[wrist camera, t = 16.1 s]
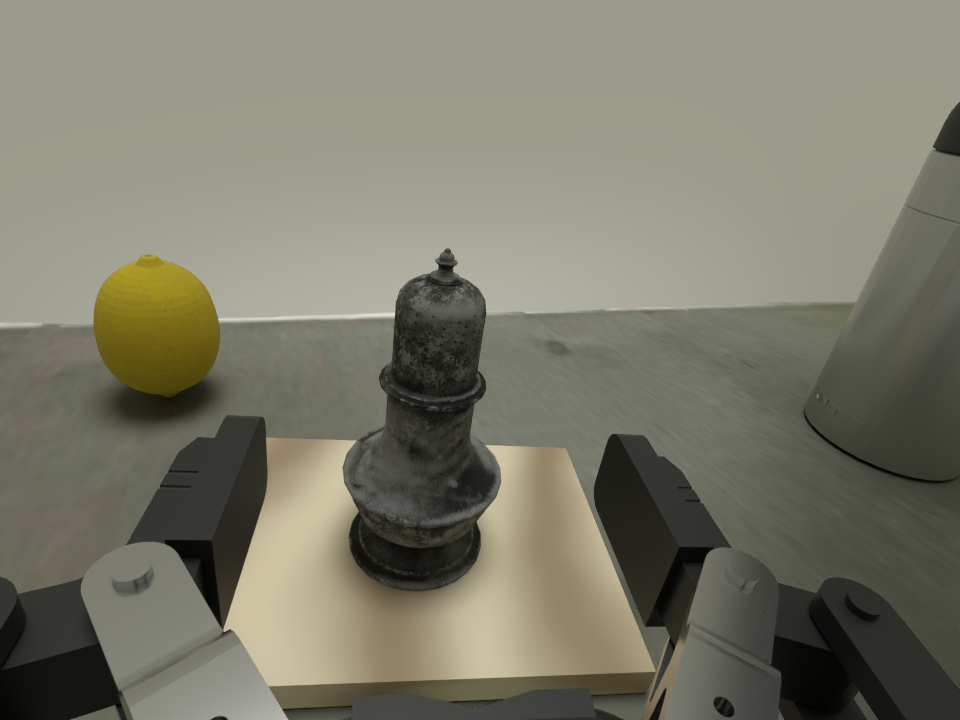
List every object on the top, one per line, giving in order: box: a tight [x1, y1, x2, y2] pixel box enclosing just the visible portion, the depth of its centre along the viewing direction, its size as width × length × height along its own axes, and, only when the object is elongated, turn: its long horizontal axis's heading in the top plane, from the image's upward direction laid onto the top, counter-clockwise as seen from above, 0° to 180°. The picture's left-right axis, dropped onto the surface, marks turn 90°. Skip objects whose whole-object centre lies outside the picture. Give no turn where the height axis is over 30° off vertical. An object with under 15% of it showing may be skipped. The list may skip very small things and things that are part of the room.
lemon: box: [94, 255, 220, 398], centre depth 28 cm, size 6×6×8 cm
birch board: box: [223, 438, 656, 709], centre depth 23 cm, size 16×12×1 cm
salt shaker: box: [343, 249, 501, 591], centre depth 20 cm, size 6×6×12 cm
